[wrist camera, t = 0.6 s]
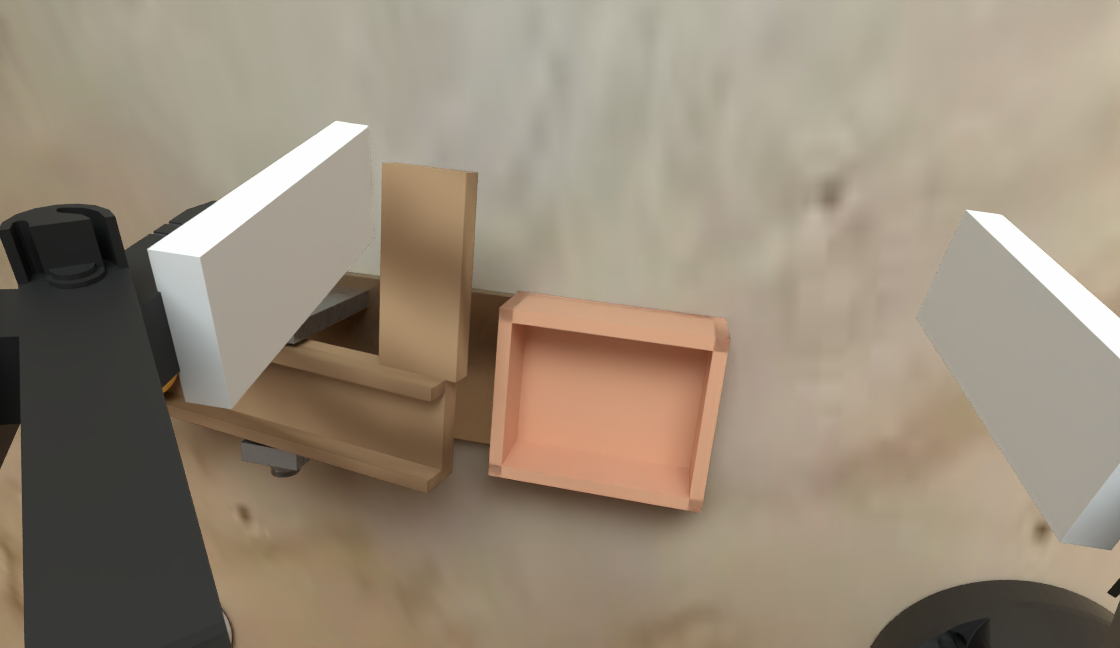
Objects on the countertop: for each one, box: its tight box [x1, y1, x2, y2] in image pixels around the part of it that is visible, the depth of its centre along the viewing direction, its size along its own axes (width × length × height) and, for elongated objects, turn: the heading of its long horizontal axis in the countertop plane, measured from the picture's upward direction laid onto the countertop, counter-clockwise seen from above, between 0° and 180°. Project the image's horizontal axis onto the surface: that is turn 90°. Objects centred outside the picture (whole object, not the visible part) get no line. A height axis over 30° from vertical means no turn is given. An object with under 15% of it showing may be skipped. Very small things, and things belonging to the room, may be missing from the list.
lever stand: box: [241, 272, 515, 477], centre depth 36 cm, size 10×20×8 cm, turn 84°
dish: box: [488, 291, 730, 513], centre depth 36 cm, size 9×11×4 cm
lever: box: [163, 163, 478, 494], centre depth 31 cm, size 14×20×3 cm
